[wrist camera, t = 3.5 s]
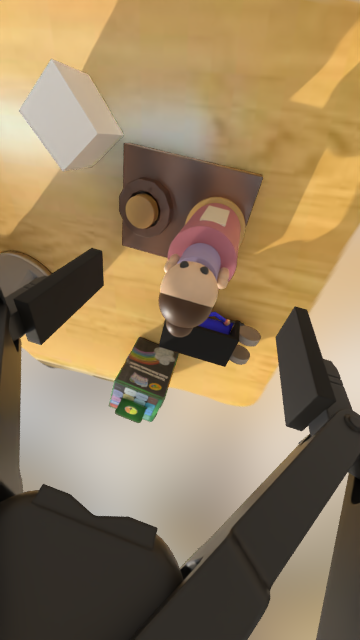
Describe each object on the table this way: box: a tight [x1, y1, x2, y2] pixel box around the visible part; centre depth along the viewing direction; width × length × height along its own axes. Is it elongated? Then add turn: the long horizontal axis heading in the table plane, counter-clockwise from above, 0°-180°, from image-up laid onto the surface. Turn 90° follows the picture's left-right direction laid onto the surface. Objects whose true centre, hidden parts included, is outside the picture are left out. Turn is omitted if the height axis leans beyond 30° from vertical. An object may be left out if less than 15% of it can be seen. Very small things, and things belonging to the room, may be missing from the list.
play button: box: [126, 193, 159, 229], centre depth 28 cm, size 4×4×2 cm
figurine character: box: [159, 312, 261, 367], centre depth 37 cm, size 7×8×15 cm
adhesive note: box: [19, 59, 124, 171], centre depth 25 cm, size 6×6×6 cm
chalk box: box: [109, 337, 179, 423], centre depth 44 cm, size 9×9×15 cm
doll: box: [159, 197, 245, 337], centre depth 21 cm, size 7×7×17 cm
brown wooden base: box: [119, 143, 263, 258], centre depth 29 cm, size 16×12×4 cm
